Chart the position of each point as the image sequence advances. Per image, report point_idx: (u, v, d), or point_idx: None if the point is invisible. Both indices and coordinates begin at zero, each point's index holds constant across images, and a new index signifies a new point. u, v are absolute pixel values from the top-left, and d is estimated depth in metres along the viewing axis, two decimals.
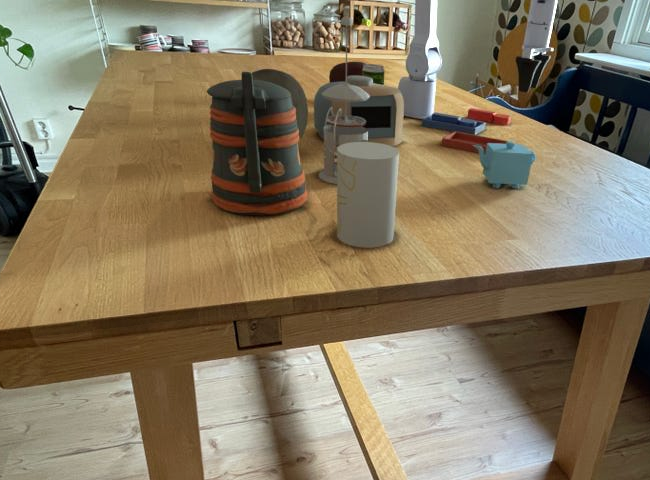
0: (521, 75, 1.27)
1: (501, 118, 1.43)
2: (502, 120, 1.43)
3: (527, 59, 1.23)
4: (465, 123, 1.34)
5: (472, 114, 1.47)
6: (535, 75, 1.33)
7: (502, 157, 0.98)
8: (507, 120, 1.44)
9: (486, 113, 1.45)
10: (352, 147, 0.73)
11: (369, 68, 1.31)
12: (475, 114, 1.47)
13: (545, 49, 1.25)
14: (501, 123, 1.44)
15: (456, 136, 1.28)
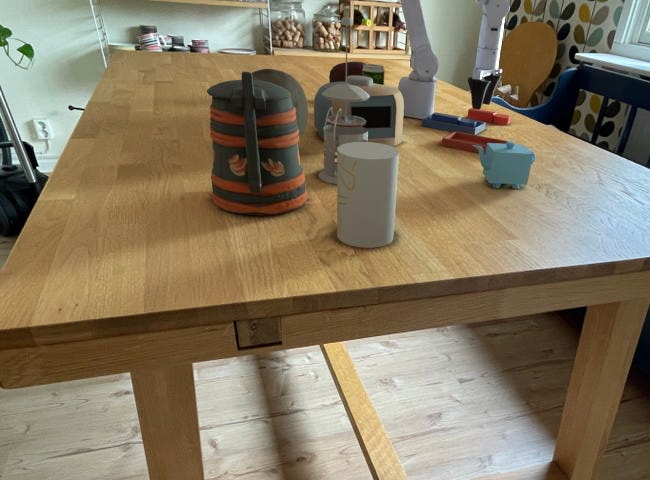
0: (473, 94, 1.41)
1: (501, 118, 1.43)
2: (502, 120, 1.43)
3: (477, 80, 1.37)
4: (465, 123, 1.34)
5: (472, 114, 1.47)
6: (488, 93, 1.47)
7: (502, 157, 0.98)
8: (507, 120, 1.44)
9: (486, 113, 1.45)
10: (352, 147, 0.73)
11: (369, 68, 1.31)
12: (475, 114, 1.47)
13: (494, 71, 1.39)
14: (501, 123, 1.44)
15: (456, 136, 1.28)
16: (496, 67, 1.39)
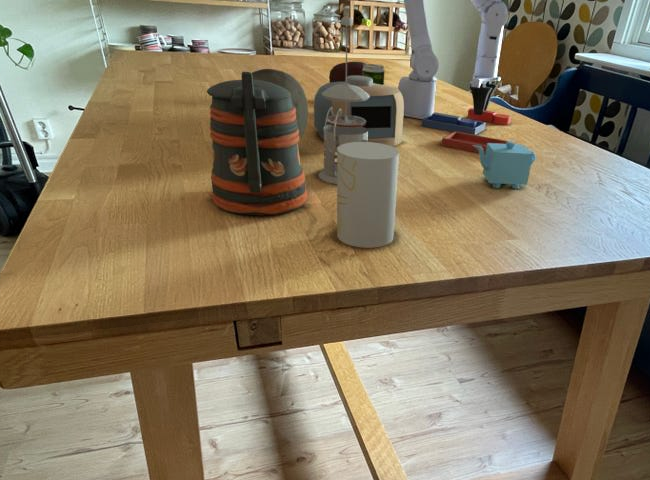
0: (475, 100, 1.44)
1: (501, 118, 1.43)
2: (502, 120, 1.43)
3: (479, 86, 1.40)
4: (465, 123, 1.34)
5: (472, 114, 1.47)
6: None
7: (502, 157, 0.98)
8: (507, 120, 1.44)
9: (486, 113, 1.45)
10: (352, 147, 0.73)
11: (369, 68, 1.31)
12: (475, 114, 1.47)
13: (493, 78, 1.40)
14: (501, 123, 1.44)
15: (456, 136, 1.28)
16: (495, 75, 1.40)
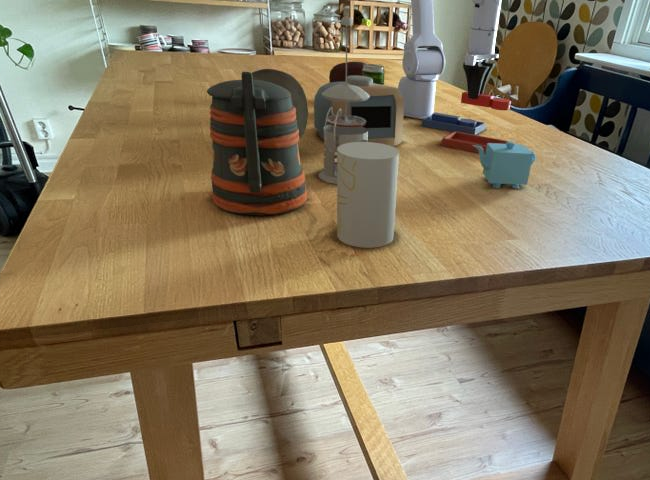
0: (470, 81, 1.24)
1: (500, 102, 1.23)
2: (501, 104, 1.24)
3: (474, 65, 1.20)
4: (465, 123, 1.34)
5: (466, 98, 1.27)
6: None
7: (502, 157, 0.98)
8: (507, 105, 1.24)
9: (483, 97, 1.25)
10: (352, 147, 0.73)
11: (369, 68, 1.31)
12: (470, 98, 1.27)
13: (490, 56, 1.20)
14: (500, 108, 1.24)
15: (456, 136, 1.28)
16: (492, 52, 1.20)
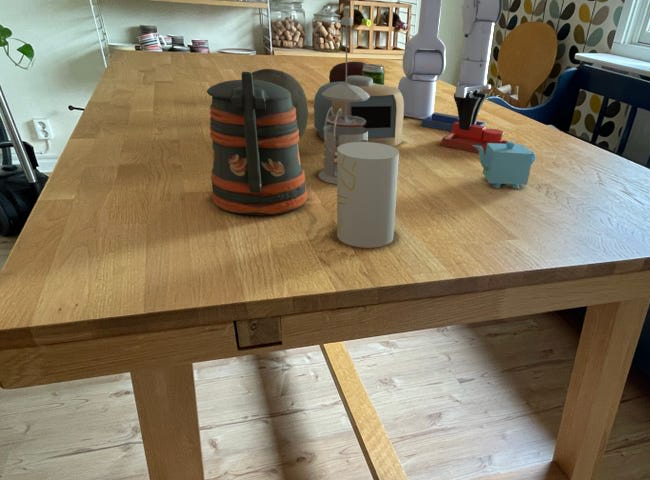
0: (461, 112, 1.20)
1: (492, 134, 1.19)
2: (493, 136, 1.19)
3: (465, 96, 1.16)
4: None
5: (457, 129, 1.23)
6: None
7: (502, 157, 0.98)
8: (500, 137, 1.20)
9: (474, 128, 1.21)
10: (352, 147, 0.73)
11: (369, 68, 1.31)
12: (461, 129, 1.22)
13: (481, 87, 1.16)
14: (492, 140, 1.20)
15: (456, 136, 1.28)
16: (484, 82, 1.16)
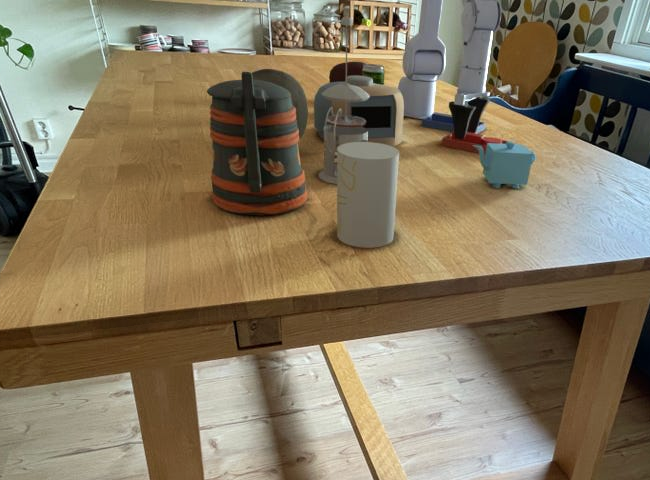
0: (456, 121, 1.19)
1: None
2: None
3: (460, 106, 1.15)
4: None
5: None
6: (474, 119, 1.25)
7: (502, 157, 0.98)
8: None
9: (473, 136, 1.22)
10: (352, 147, 0.73)
11: (369, 68, 1.31)
12: None
13: (480, 94, 1.17)
14: None
15: None
16: (483, 90, 1.17)
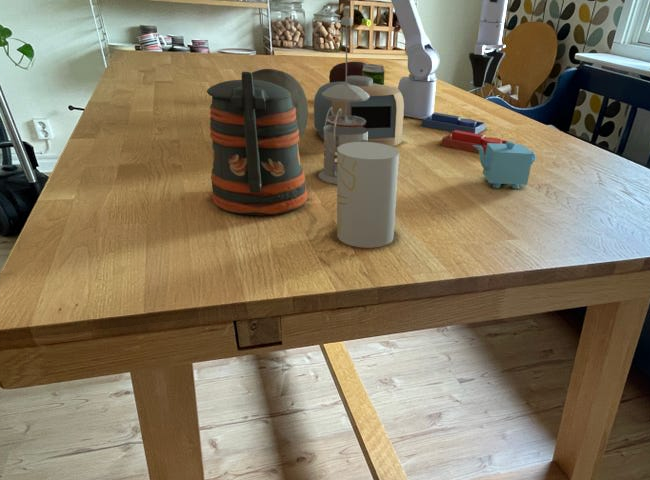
0: (475, 71, 1.33)
1: None
2: None
3: (479, 55, 1.29)
4: (465, 123, 1.34)
5: (456, 137, 1.24)
6: (491, 71, 1.39)
7: (502, 157, 0.98)
8: None
9: (473, 136, 1.22)
10: (352, 147, 0.73)
11: (369, 68, 1.31)
12: (460, 137, 1.23)
13: (497, 46, 1.31)
14: None
15: None
16: (499, 42, 1.31)
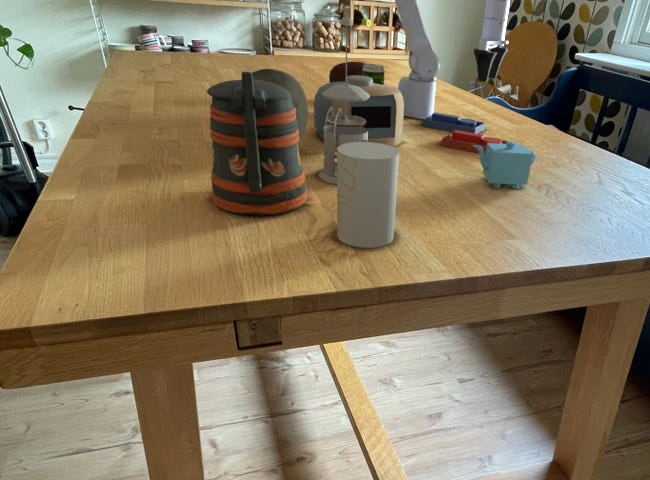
0: (479, 66, 1.39)
1: None
2: None
3: (484, 51, 1.35)
4: (465, 123, 1.34)
5: (456, 137, 1.24)
6: (494, 66, 1.45)
7: (502, 157, 0.98)
8: None
9: (473, 136, 1.22)
10: (352, 147, 0.73)
11: (369, 68, 1.31)
12: (460, 137, 1.23)
13: (501, 42, 1.37)
14: None
15: None
16: (503, 38, 1.37)
